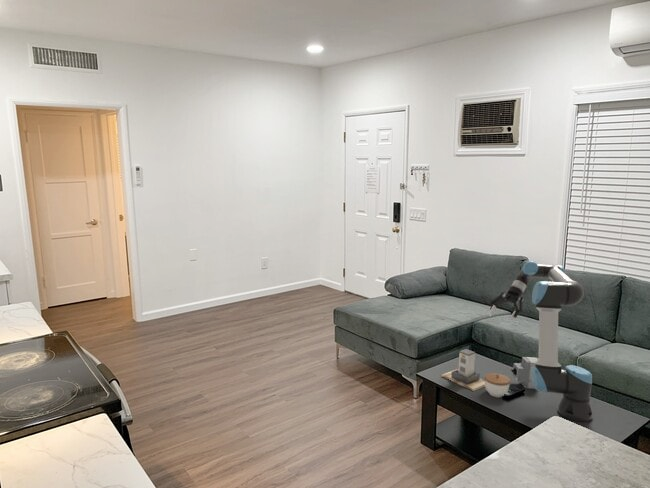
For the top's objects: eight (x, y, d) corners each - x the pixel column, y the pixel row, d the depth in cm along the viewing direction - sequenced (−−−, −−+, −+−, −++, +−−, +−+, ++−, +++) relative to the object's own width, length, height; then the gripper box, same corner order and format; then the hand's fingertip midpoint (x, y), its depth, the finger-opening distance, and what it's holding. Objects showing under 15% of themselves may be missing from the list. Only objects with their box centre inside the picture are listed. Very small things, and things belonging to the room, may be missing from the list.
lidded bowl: (514, 398, 245) (515, 378, 244) (493, 401, 241) (495, 381, 240) (498, 387, 257) (499, 368, 255) (478, 390, 253) (480, 371, 252)
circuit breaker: (509, 381, 265) (511, 356, 262) (534, 382, 264) (537, 357, 262) (513, 387, 257) (516, 361, 255) (540, 388, 257) (542, 362, 254)
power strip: (473, 379, 264) (475, 352, 262) (466, 382, 260) (467, 354, 258) (464, 375, 269) (466, 348, 267) (457, 378, 265) (459, 351, 263)
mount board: (489, 384, 260) (489, 382, 260) (473, 391, 252) (473, 389, 252) (457, 370, 278) (457, 369, 278) (441, 376, 270) (441, 374, 270)
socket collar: (479, 379, 264) (479, 373, 263) (467, 384, 257) (467, 378, 257) (463, 372, 272) (464, 367, 272) (451, 377, 266) (451, 371, 266)
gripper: (538, 298, 269) (521, 327, 263) (500, 288, 289) (483, 316, 283) (534, 290, 265) (517, 320, 259) (496, 281, 285) (479, 309, 279)
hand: (499, 318), depth 271 cm, fingers open, 13 cm apart
